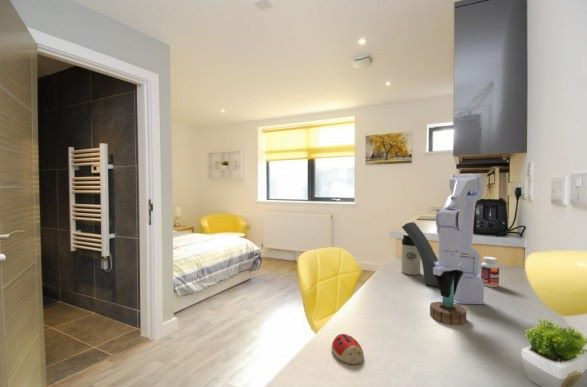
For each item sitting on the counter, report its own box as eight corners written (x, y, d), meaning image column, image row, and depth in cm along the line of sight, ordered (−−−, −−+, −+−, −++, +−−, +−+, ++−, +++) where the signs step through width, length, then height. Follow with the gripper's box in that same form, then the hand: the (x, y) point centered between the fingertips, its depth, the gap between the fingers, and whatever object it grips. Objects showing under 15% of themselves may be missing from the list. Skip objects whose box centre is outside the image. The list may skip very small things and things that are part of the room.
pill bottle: (492, 288, 119) (492, 260, 119) (477, 283, 125) (477, 256, 124) (502, 286, 121) (502, 258, 121) (487, 282, 127) (487, 255, 127)
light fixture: (410, 275, 136) (410, 221, 135) (451, 284, 124) (452, 224, 123) (399, 280, 128) (399, 223, 128) (442, 290, 116) (443, 226, 116)
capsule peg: (450, 303, 92) (451, 277, 92) (455, 307, 89) (455, 279, 89) (440, 303, 93) (441, 276, 92) (445, 306, 90) (445, 279, 89)
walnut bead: (456, 311, 96) (456, 302, 96) (473, 325, 86) (473, 314, 86) (425, 310, 96) (425, 301, 96) (438, 324, 86) (438, 313, 86)
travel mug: (404, 269, 145) (404, 232, 145) (421, 272, 141) (422, 233, 140) (399, 273, 139) (399, 234, 139) (417, 276, 134) (418, 235, 134)
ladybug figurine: (343, 369, 65) (343, 352, 65) (325, 346, 74) (325, 331, 74) (371, 363, 67) (371, 347, 67) (349, 342, 76) (349, 328, 76)
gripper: (446, 245, 98) (446, 287, 99) (423, 250, 89) (422, 296, 90) (470, 248, 93) (469, 293, 93) (447, 254, 84) (446, 303, 84)
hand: (448, 295), depth 91 cm, fingers closed on capsule peg, 3 cm apart
